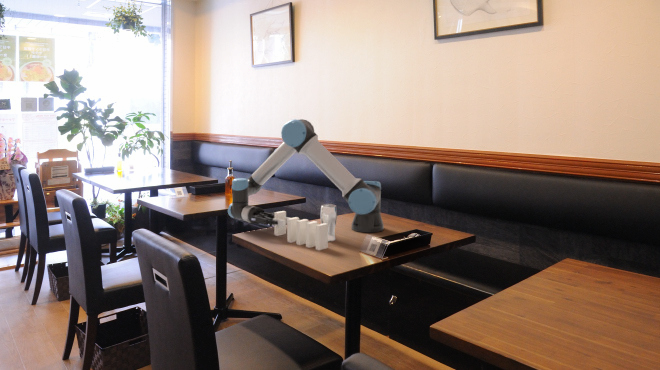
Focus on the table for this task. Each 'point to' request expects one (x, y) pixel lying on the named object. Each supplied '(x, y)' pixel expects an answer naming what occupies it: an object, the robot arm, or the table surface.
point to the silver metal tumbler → (329, 219)
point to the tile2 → (291, 229)
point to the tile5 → (321, 236)
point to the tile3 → (301, 231)
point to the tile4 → (311, 234)
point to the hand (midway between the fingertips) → (288, 222)
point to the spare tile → (278, 229)
